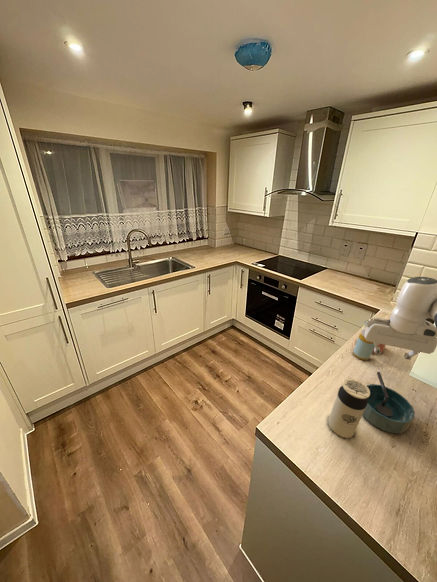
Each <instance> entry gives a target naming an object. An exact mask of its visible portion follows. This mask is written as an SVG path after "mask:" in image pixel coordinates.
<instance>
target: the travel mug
mask: <svg viewBox="0 0 437 582" xmlns="http://www.w3.org/2000/svg"><path fill="white" fill-rule="evenodd" d="M341 384H342V385H341V386H340V387H339V388H338V391H337V394H336V397H335V399H334V402H333V405H332V408H331V411H330V414H329V417H328V421H327V422H328V423H327V424H328V426H329V428H330V429H331V430H332V431H333V432H334V433H335V434H336V435H337V436H340V437H341V438H347V439H349V438H352V437H353V436H354V435H355V432H356V430H357V428H358V426H359V424H360V422H361V419H362V417H363V412H364V410H365V408H366V406H367V403H368V399H367V398H368V397H369V396H370V390H369V388H368V387H367V386H366V384H365V383H363V381H361V380H359V379H356V378H351V377H348V378H345V379H343V381H342V383H341Z"/></svg>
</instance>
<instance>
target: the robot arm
mask: <svg viewBox="0 0 437 582" xmlns="http://www.w3.org/2000/svg"><path fill="white" fill-rule="evenodd" d="M428 319H431V320H433V322H434V324H433V323H432V322H430V321H428ZM368 320H369V321H368V324H367V328H366V330H365V332H364V337H365V339H366V340H367V341H369V342H374V345H375V348H374V352H376V353H380V351H381V349H380V347H377V345H379V344H384V345H385V346H389V347H394V348H400V349H404V350H408V351H409V352H404V353H405V354H404V355H403V358H404V360H408V361H411V360H412V358H413V357H414V356H417V355H418V354H419V353H423V354H428V355H430V354H433V353H434V352H435V351H436V349H437V279H436V278H432V277H429V276H415V277H414V276H413V277H410V278H408V279H407V280H406V281H405V282H404V284H403V285H402V287H401V289H400V290H399V293H398V295H397V298H396V303H395V306H394V308H393V309H392V311H391V312H390V316H389V318H388V319H386V318H379V317H374V318H373V317H372V318H370V319H368ZM380 354H381V353H380Z"/></svg>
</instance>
